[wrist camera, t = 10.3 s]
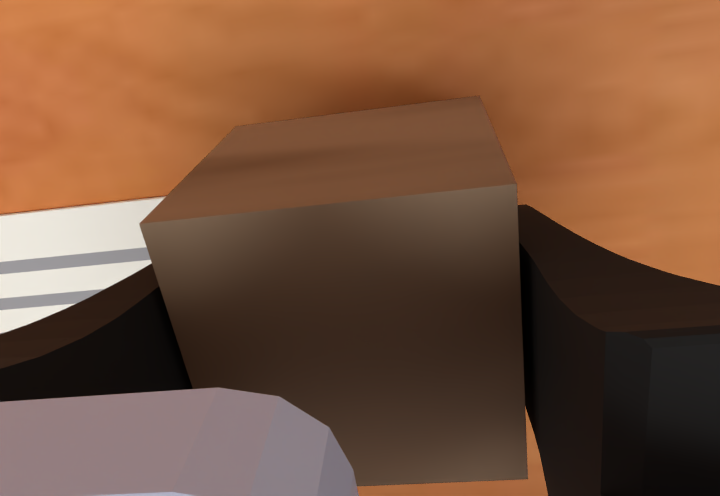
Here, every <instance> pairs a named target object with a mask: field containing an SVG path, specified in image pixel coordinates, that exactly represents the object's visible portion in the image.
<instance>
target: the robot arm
mask: <svg viewBox="0 0 720 496" xmlns="http://www.w3.org/2000/svg"><path fill="white" fill-rule="evenodd" d="M517 206H518V232H519V259H520V285H521V311H522V338H523V364H524V390H525V406H526V409H527V412H528V416H529V419H530V422H531V425H532V428H533V431H534V434H535V438H536V441H537V445H538V449H539V453H540V457H541V462H542V467H543V471H544V476H545V481H546V486H547V491H548V496H720V286H719V285H714V284H710V283H706V282H702V281H698V280H694V279H690V278H685V277H681V276H678V275H674V274H671V273H667V272H664V271H661V270H658V269H655V268H652V267H649V266H646V265H644V264H641V263H638V262H635V261H632V260H630V259H627V258H625V257H622V256H620V255H617V254H615V253H613V252H611V251H609V250H607V249H605V248H602V247H600V246H598V245H596V244H594V243H592V242H590V241H588V240H586V239H584V238H582V237H581V236H579V235H577V234H575V233H573V232H572V231H570V230H568V229H566V228H565V227H563V226H561V225H560V224H558V223H556V222H555V221H553V220H552V219H550V218H548V217H547V216H545V215H543V214H542V213H540V212H539V211H537V210H535V209H534V208H532V207H530V206H528V205H517ZM0 496H359V495H358V490H357V485H356V481H355V476H354V471H353V468H352V467H351V465H350V463H349V461H348V459H347V458H346V456H345V454H344V452H343V451H342V449H341V447H340V445H339V444H338V442H337V440H336V438H335V437H334V435H333V433H332V431H331V430H330V428H329V427H328V426H326V425H325V424H323V423H321V422H320V421H318V420H316V419H315V418H313V417H312V416H310V415H308V414H307V413H305V412H304V411H302V410H300V409H299V408H297V407H296V406H294V405H292V404H291V403H289V402H287V401H286V400H284V399H283V398H281V397H279V396H273V395H266V394H260V393H253V392H246V391H239V390H232V389H225V388H219V387H218V388H203V389H193V388H192V385H191V382H190V379H189V375H188V372H187V369H186V366H185V363H184V360H183V357H182V354H181V351H180V348H179V345H178V342H177V339H176V336H175V333H174V330H173V326H172V323H171V320H170V317H169V314H168V311H167V308H166V305H165V302H164V299H163V296H162V293H161V290H160V287H159V284H158V281H157V277H156V274H155V271H154V268H153V265H152V263H151V264H150V265H148V266H146V267H144V268H143V269H141V270H139V271H137V272H136V273H134V274H132V275H130V276H128V277H127V278H125V279H123V280H121V281H119V282H117V283H115V284H113V285H111V286H110V287H108V288H106V289H104V290H102V291H100V292H98V293H96V294H95V295H93V296H91V297H89V298H87V299H85V300H83V301H81V302H79V303H76V304H74V305H72V306H70V307H68V308H66V309H63V310H61V311H59V312H56V313H54V314H52V315H49V316H47V317H45V318H42V319H40V320H38V321H35V322H33V323H30V324H28V325H25V326H22V327H19V328H16V329H13V330H11V331H8V332H5V333H2V334H0Z"/></svg>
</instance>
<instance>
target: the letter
mask: <svg viewBox="0 0 720 496" xmlns="http://www.w3.org/2000/svg"><path fill="white" fill-rule="evenodd" d="M165 197H166V196H162V197H154V198H145V199H136V200H127V201H118V202H109V203H100V204H91V205H82V206H73V207H65V208H56V209H47V210H38V211H29V212H20V213H11V214H2V215H0V334H2V333H5V332H8V331H11V330H13V329H16V328H19V327H22V326H25V325H28V324H30V323H33V322H35V321H38V320H40V319H42V318H45V317H47V316H49V315H52V314H54V313H56V312H59V311H61V310H63V309H66V308H68V307H70V306H72V305H74V304H76V303H79V302H81V301H83V300H85V299H87V298H89V297H91V296H93V295H95V294H96V293H98V292H100V291H102V290H104V289H106V288H108V287H110V286H111V285H113V284H115V283H117V282H119V281H121V280H123V279H125V278H127V277H128V276H130V275H132V274H134V273H136V272H137V271H139V270H141V269H143V268H144V267H146V266H148V265H150V264H151V263H152V262H151V259H150V256H149V253H148V250H147V247H146V244H145V241H144V238H143V235H142V232H141V228H140V225H139V223H140V222H141V221H142V220H143V219H144V218H145V217H146V216H147V215H148V214H149V213H150V212H151V211H152V210H153V209H154V208H155V207H156V206H157V205H158V204H159V203H160V202H161V201H162V200H163V199H164V198H165Z"/></svg>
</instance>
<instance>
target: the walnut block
mask: <svg viewBox="0 0 720 496" xmlns="http://www.w3.org/2000/svg"><path fill="white" fill-rule="evenodd" d="M139 225H140V228H141V232H142V235H143V238H144V241H145V244H146V247H147V250H148V253H149V256H150V259H151V262H152V265H153V268H154V271H155V274H156V277H157V281H158V284H159V287H160V290H161V293H162V296H163V299H164V302H165V305H166V308H167V311H168V314H169V317H170V320H171V323H172V326H173V330H174V333H175V336H176V339H177V342H178V345H179V348H180V351H181V354H182V357H183V360H184V363H185V366H186V369H187V372H188V375H189V379H190V382H191V385H192V388H193V389H203V388H218V387H219V388H225V389H232V390H239V391H246V392H253V393H260V394H266V395H273V396H279V397H281V398H283V399H284V400H286V401H287V402H289V403H291V404H292V405H294V406H296V407H297V408H299V409H300V410H302V411H304V412H305V413H307V414H308V415H310V416H312V417H313V418H315V419H316V420H318V421H320V422H321V423H323V424H325V425H326V426H328V427H329V428H330V430H331V431H332V433H333V435H334V437H335V438H336V440H337V442H338V444H339V445H340V447H341V449H342V451H343V452H344V454H345V456H346V458H347V459H348V461H349V463H350V465H351V467H352V468H353V471H354V476H355V481H356V485H357V486H376V485H400V484H423V483H447V482H471V481H495V480H518V479H528V470H527V443H526V417H525V390H524V364H523V338H522V311H521V285H520V259H519V232H518V206H517V183H516V181H515V179H514V176H513V174H512V172H511V169H510V167H509V164H508V162H507V160H506V157H505V155H504V153H503V150H502V148H501V145H500V143H499V141H498V138H497V136H496V134H495V131H494V129H493V126H492V124H491V122H490V119H489V117H488V115H487V112H486V110H485V108H484V105H483V103H482V100H481V98H480V96H473V97H465V98H457V99H449V100H441V101H433V102H425V103H417V104H409V105H401V106H393V107H386V108H378V109H370V110H362V111H354V112H346V113H338V114H330V115H322V116H314V117H306V118H298V119H290V120H283V121H275V122H267V123H259V124H251V125H243V126H236V127H235V128H234V129H233V130H232V131H231V132H230V133H229V134H228V135H227V136H226V137H225V138H224V139H223V140H222V141H221V142H220V143H219V144H218V145H217V146H216V147H215V148H214V149H213V150H212V151H211V152H210V153H209V154H208V155H207V156H206V157H205V158H204V159H203V160H202V161H201V162H200V163H199V164H198V165H197V166H196V167H195V168H194V169H193V170H192V171H191V172H190V173H189V174H188V175H187V176H186V177H185V178H184V179H183V180H182V181H181V182H180V183H179V184H178V185H177V186H176V187H175V188H174V189H173V190H172V191H171V192H170V193H169V194H168V195H167V196H166V197H165V198H164V199H163V200H162V201H161V202H160V203H159V204H158V205H157V206H156V207H155V208H154V209H153V210H152V211H151V212H150V213H149V214H148V215H147V216H146V217H145V218H144V219H143V220H142V221H141V222H140V223H139Z"/></svg>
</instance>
